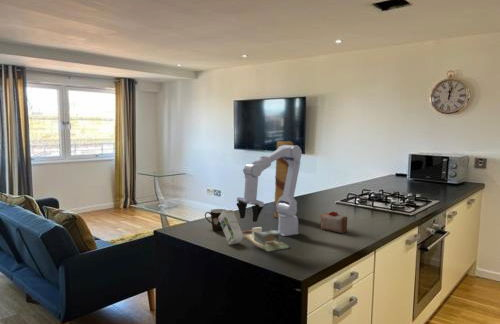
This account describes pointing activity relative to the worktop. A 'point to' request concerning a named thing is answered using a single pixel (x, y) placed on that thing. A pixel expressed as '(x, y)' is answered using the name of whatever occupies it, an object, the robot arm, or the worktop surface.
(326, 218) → the food item
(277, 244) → the rail tunnel
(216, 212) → the coffee mug
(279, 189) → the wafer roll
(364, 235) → the worktop surface
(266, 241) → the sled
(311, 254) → the worktop surface
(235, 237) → the syrup box
